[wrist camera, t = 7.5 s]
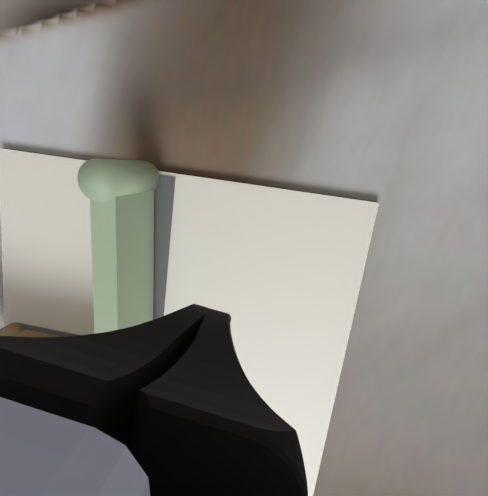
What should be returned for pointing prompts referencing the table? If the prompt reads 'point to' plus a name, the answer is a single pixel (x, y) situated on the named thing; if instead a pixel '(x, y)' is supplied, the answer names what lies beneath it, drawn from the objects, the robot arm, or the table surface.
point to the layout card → (204, 273)
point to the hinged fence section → (121, 239)
